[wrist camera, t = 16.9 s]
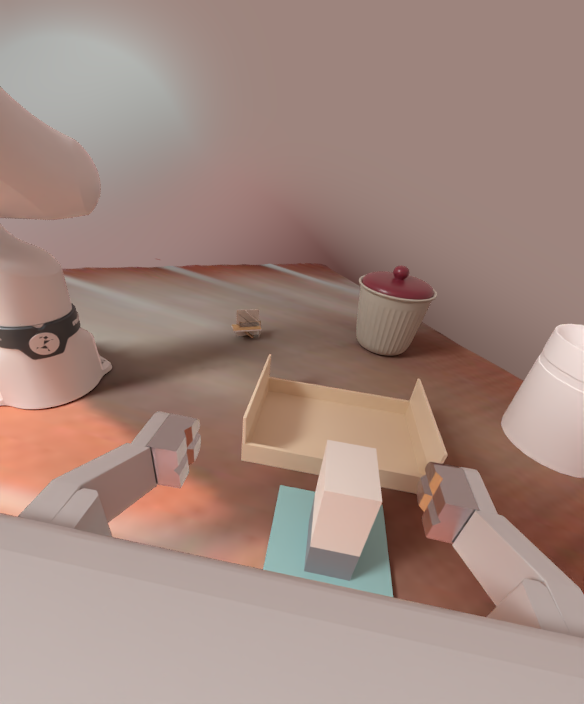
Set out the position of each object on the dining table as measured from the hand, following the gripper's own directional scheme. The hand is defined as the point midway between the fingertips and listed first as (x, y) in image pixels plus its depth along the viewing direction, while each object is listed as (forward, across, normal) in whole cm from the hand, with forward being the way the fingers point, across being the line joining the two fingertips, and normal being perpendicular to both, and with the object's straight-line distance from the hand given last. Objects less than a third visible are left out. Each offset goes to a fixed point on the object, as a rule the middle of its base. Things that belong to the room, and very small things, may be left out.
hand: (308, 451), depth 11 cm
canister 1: (+67, -17, +30) cm, 76 cm away
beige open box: (+32, -5, +30) cm, 44 cm away
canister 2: (+40, -45, +30) cm, 67 cm away
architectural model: (+61, +17, +31) cm, 70 cm away
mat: (+13, -5, +30) cm, 33 cm away
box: (+13, -5, +29) cm, 32 cm away
